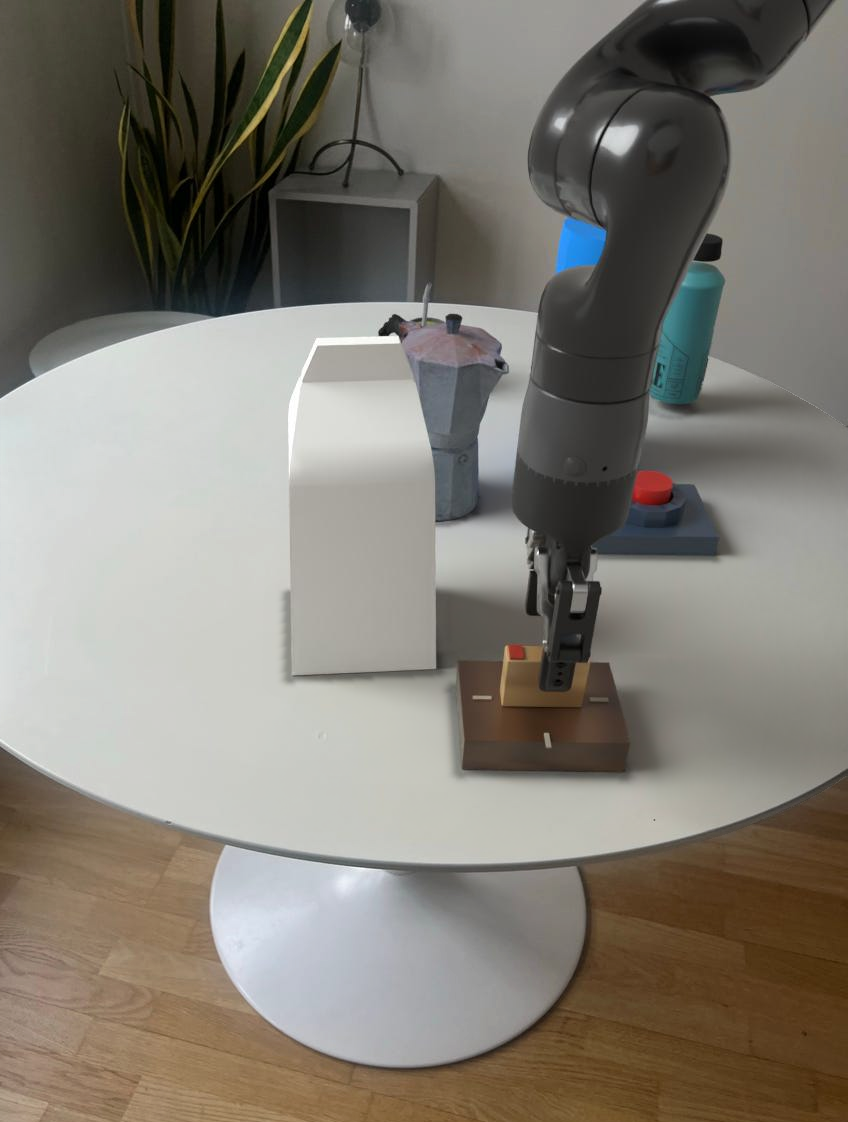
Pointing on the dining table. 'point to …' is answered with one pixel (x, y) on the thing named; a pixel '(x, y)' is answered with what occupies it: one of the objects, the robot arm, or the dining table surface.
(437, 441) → the moka pot
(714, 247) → the beverage bottle
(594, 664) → the panel
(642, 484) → the button
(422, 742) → the dining table surface
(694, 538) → the button box
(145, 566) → the dining table surface
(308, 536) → the milk
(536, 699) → the handle
